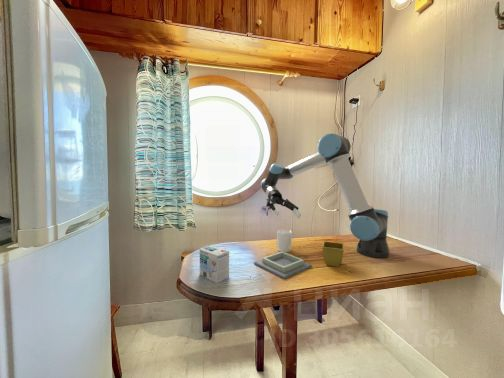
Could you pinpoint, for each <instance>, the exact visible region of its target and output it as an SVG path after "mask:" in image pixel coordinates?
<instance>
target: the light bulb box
mask: <svg viewBox="0 0 504 378" xmlns="http://www.w3.org/2000/svg"><path fill="white" fill-rule="evenodd" d="M199 275H200V276H202V277H204V278H205V279H207V280H210V281H211V282H213V283H215V284H218V283H221V282H222V281H224V280H227V279H228V278H230V250H227V249H224V248H221V247H218V246H215V245H208V246H205V247H202V248H200V249H199Z"/></svg>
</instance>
